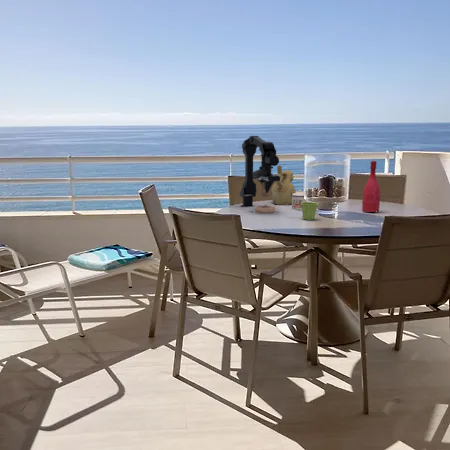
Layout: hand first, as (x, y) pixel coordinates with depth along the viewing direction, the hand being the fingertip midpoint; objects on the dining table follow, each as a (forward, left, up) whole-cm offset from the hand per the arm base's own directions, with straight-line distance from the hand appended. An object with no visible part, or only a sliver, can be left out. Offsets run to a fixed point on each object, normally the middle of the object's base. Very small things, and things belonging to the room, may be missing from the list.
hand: (265, 192), depth 286 cm
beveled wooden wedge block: (0, 0, -2) cm, 2 cm away
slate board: (-1, 0, -12) cm, 12 cm away
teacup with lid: (-1, +28, -12) cm, 30 cm away
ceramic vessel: (-25, +33, -12) cm, 43 cm away
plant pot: (+26, +10, -12) cm, 30 cm away
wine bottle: (+26, +58, -12) cm, 64 cm away
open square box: (0, 0, -11) cm, 11 cm away
